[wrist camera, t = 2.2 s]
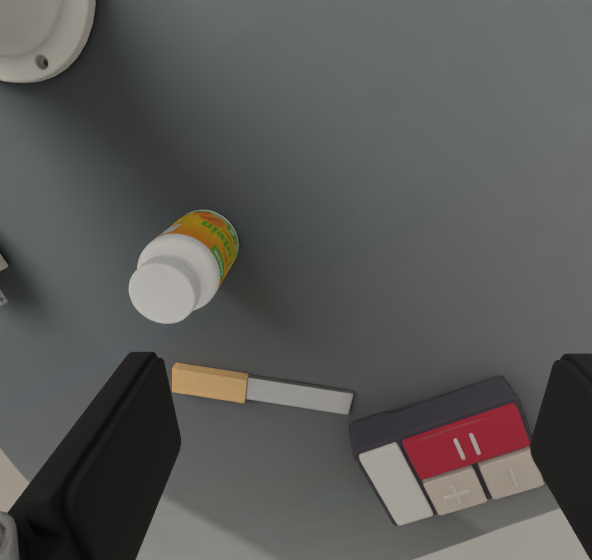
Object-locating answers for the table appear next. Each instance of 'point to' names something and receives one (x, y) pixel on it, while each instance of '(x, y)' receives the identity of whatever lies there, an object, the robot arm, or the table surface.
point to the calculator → (447, 452)
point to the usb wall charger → (0, 265)
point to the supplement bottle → (183, 266)
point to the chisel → (257, 389)
